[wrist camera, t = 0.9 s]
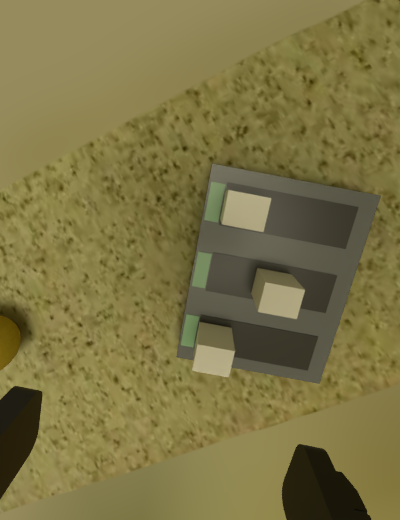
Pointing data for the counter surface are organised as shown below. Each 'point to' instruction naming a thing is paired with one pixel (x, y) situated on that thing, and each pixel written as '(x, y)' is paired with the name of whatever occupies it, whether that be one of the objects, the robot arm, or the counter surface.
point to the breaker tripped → (277, 293)
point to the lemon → (8, 341)
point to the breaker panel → (277, 270)
